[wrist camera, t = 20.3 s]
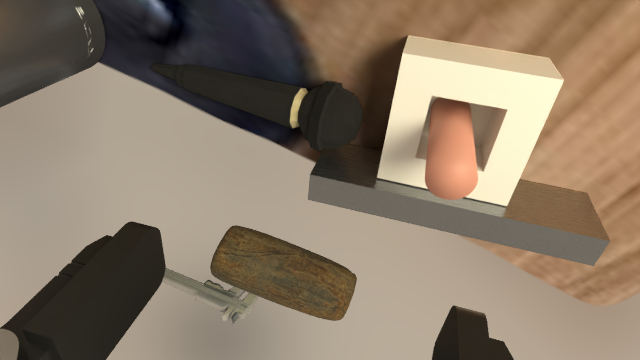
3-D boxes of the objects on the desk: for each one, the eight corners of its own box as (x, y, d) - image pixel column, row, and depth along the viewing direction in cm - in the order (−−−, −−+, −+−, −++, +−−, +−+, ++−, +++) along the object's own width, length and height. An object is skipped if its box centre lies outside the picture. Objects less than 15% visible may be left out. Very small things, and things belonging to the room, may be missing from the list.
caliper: (262, 281, 51) (242, 322, 46) (263, 287, 51) (243, 328, 46) (121, 251, 55) (88, 285, 50) (123, 257, 56) (90, 291, 51)
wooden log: (230, 252, 49) (203, 294, 44) (235, 209, 45) (206, 250, 40) (348, 295, 48) (335, 344, 42) (364, 255, 44) (352, 303, 38)
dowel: (426, 124, 33) (419, 193, 25) (435, 90, 32) (431, 152, 23) (464, 131, 33) (469, 204, 25) (475, 96, 31) (484, 162, 23)
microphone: (180, 73, 41) (368, 126, 36) (143, 109, 38) (345, 173, 33) (163, 23, 37) (374, 76, 32) (120, 58, 33) (349, 124, 29)
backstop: (325, 162, 38) (308, 199, 34) (328, 139, 37) (310, 174, 32) (573, 216, 35) (593, 265, 30) (587, 193, 33) (610, 241, 29)
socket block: (384, 147, 36) (376, 177, 32) (408, 33, 31) (402, 53, 27) (500, 171, 35) (507, 206, 31) (548, 56, 29) (564, 80, 25)
